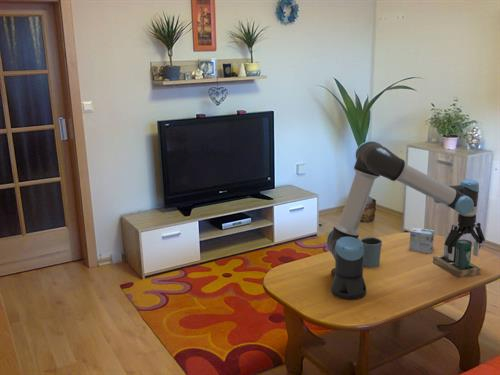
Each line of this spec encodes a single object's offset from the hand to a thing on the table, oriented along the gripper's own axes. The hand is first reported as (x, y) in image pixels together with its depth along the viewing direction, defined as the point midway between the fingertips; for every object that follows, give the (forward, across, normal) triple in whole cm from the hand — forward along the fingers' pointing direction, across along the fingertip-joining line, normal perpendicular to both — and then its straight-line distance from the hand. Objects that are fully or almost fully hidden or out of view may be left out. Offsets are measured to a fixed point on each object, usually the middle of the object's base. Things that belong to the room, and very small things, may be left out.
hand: (463, 257), depth 236 cm
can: (+7, 0, 0) cm, 7 cm away
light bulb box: (+8, -2, +29) cm, 30 cm away
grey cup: (+7, -34, +23) cm, 42 cm away
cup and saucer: (+8, -53, +16) cm, 56 cm away
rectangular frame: (+7, 0, +4) cm, 8 cm away
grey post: (+7, 0, +9) cm, 11 cm away
